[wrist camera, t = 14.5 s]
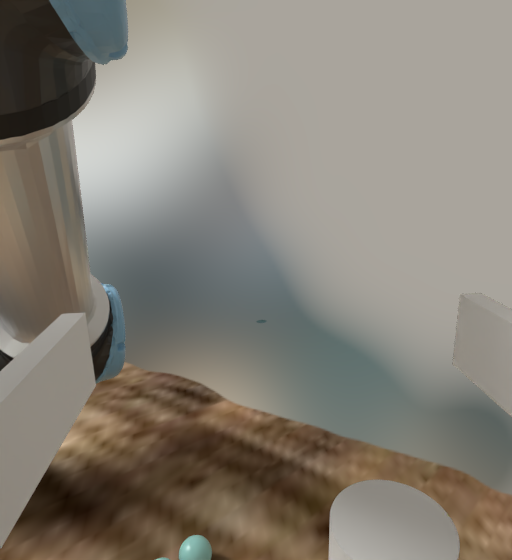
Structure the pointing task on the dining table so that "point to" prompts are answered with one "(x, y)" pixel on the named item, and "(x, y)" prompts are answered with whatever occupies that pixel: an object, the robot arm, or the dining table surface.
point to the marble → (195, 549)
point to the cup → (390, 524)
